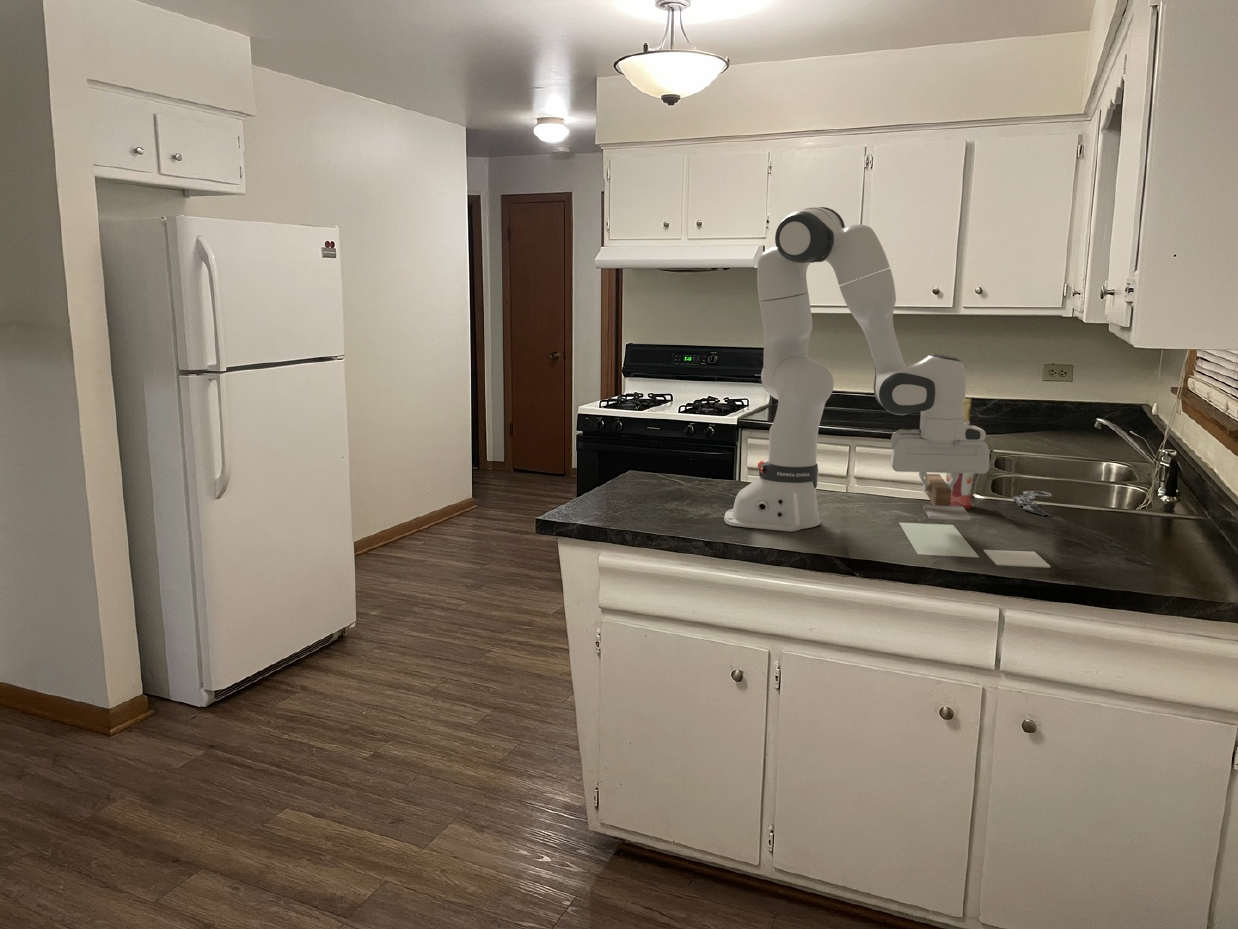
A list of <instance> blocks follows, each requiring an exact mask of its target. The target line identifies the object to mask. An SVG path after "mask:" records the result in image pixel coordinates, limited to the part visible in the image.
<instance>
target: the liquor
mask: <svg viewBox="0 0 1238 929" xmlns="http://www.w3.org/2000/svg"><path fill="white" fill-rule="evenodd" d="M971 407H972V398H966V397H965V399H964V402H963V413H964V423H968V424H971V420H970V418H971V416H970V415H971V414H970V412H971ZM945 474H946V476H945V482H946V484H948V483H949V481H950V480H951V478H952V477H951V476H950V473H945ZM974 475H975V473H959V478H958V480H957V481H956V482H955V484H954V485H953V490H952V493H951V504H950V506H963V507H964V509H965V510H969V509H971V508H972V507H973V504H972V500H971V499H972V492H973V491H972V490H973V482H974Z"/></svg>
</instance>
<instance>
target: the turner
mask: <svg viewBox="0 0 1238 929" xmlns="http://www.w3.org/2000/svg"><path fill="white" fill-rule="evenodd" d="M924 478H925V480H926V482H927V483H930V484H931V485H932V486H931V492H924V493H925V495H927V497H928V499H929V500H930V502H931V504H932V505H928V504H924V505H922V506H923V508H922V509H923V510H924V512H925V513H926V515H927V517H928V518H929V519H930V520H954V521H955V520H958V521H960V520H961V521H972V517H971V515H970V514H969V513H968V511H967V509H964V507H963V506H950V504H951V491H952V490H951V489H950V488H949V486H948V485H947V484H946V480H945V479H944V478H943V477H942V476H941V473H940V474H938V473H937V474H935V473H927V477H924Z"/></svg>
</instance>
